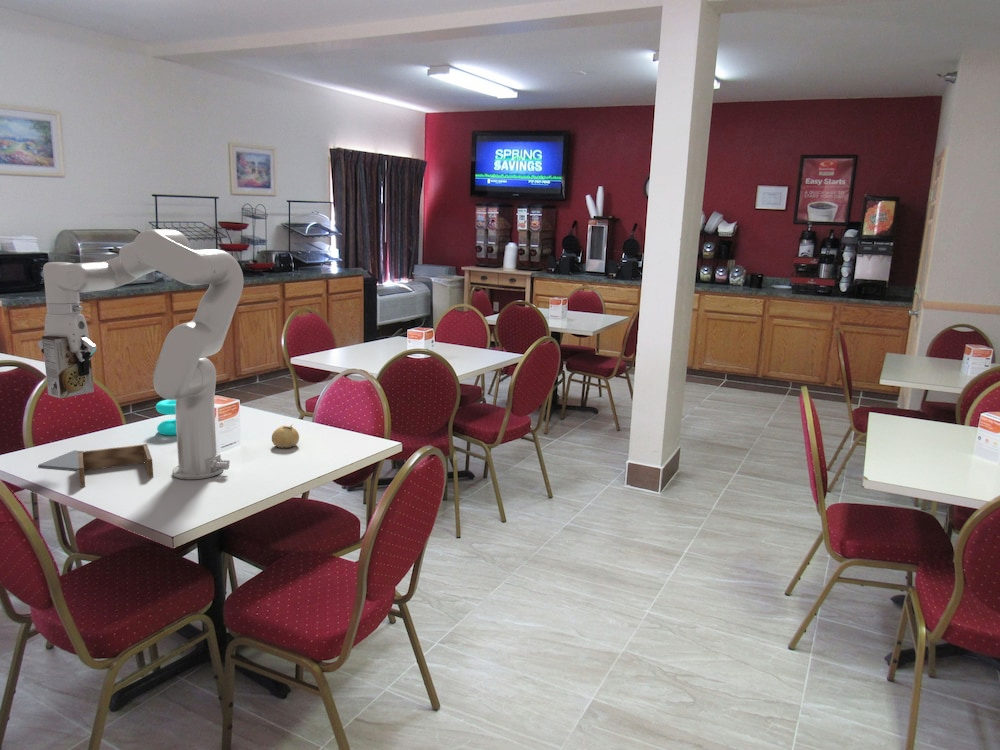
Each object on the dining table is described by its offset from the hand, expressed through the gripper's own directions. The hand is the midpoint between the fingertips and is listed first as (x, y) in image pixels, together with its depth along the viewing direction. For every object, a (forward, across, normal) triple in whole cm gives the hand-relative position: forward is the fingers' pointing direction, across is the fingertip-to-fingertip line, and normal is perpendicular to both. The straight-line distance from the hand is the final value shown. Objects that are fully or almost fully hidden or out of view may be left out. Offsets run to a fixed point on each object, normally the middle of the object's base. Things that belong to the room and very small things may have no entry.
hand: (69, 373), depth 187 cm
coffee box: (+6, 0, 0) cm, 6 cm away
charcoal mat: (+25, 0, 0) cm, 25 cm away
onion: (+25, -48, -27) cm, 61 cm away
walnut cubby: (+25, -16, +6) cm, 30 cm away
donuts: (+25, -8, -32) cm, 41 cm away
